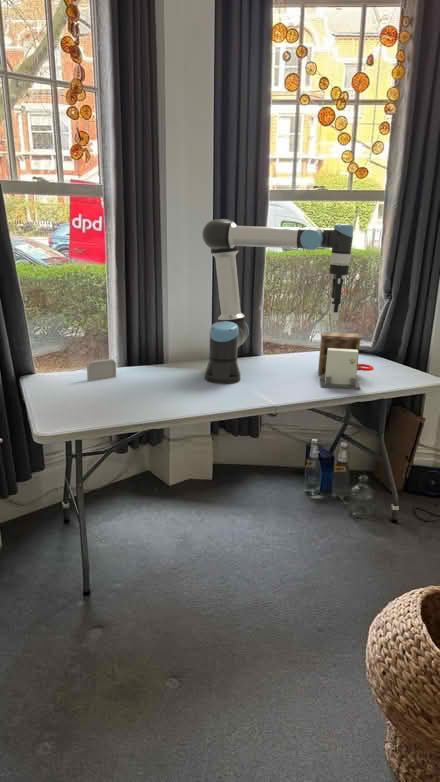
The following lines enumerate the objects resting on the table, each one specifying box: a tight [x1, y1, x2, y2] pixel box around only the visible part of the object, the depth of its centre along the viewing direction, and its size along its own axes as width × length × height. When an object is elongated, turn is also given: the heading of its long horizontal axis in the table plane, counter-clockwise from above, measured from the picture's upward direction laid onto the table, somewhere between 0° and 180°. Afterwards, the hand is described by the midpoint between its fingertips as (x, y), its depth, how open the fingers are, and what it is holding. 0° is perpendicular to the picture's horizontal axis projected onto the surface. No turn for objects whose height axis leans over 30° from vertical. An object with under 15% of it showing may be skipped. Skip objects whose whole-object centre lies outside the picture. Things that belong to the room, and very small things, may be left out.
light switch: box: [86, 358, 117, 382], centre depth 235 cm, size 2×12×8 cm, turn 125°
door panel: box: [324, 348, 359, 385], centre depth 235 cm, size 12×5×14 cm, turn 83°
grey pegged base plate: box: [319, 372, 362, 391], centre depth 237 cm, size 16×10×4 cm, turn 83°
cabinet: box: [317, 331, 361, 377], centre depth 250 cm, size 16×8×18 cm, turn 83°
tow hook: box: [357, 345, 374, 371], centre depth 263 cm, size 8×13×9 cm
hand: (333, 317), depth 233 cm, fingers open, 13 cm apart
